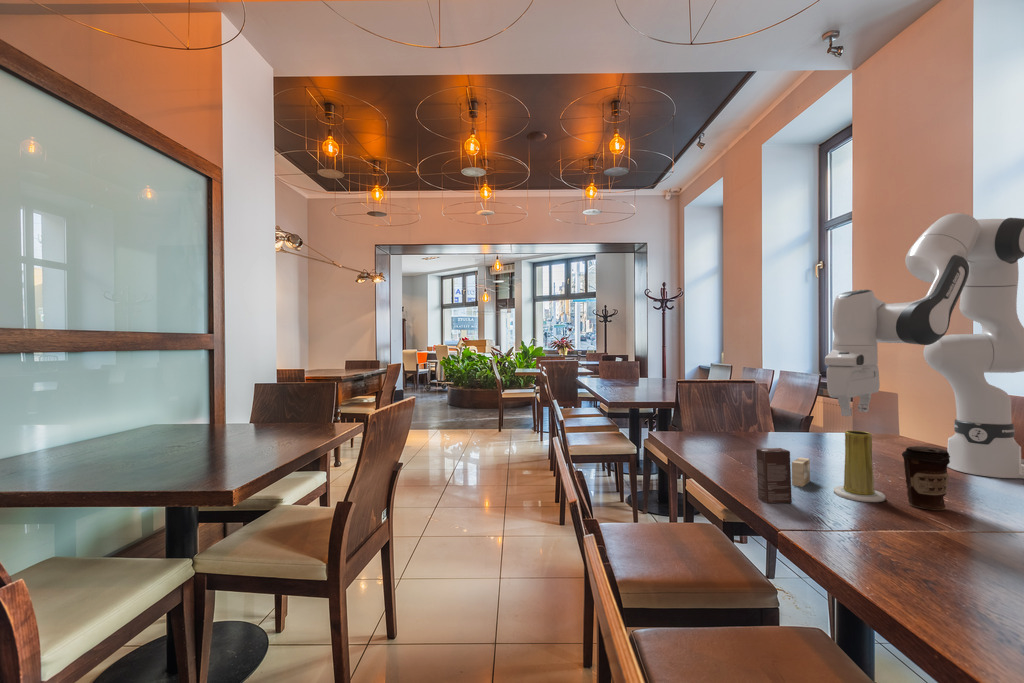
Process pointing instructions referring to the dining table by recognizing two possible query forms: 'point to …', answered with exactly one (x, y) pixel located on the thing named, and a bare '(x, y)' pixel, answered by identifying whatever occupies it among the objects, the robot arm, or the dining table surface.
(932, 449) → the coffee cup
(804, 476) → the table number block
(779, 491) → the box
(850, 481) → the vase
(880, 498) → the coaster
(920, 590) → the dining table surface
